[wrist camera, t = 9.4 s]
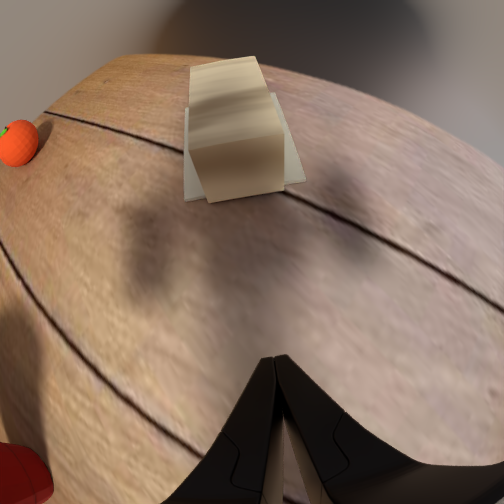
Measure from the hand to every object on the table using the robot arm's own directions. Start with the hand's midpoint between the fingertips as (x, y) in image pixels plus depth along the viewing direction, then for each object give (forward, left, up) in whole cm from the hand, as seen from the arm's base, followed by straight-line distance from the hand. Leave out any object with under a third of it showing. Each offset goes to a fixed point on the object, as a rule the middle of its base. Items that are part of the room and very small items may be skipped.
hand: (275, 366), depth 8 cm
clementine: (-9, +41, -9) cm, 44 cm away
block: (+7, +11, -6) cm, 14 cm away
